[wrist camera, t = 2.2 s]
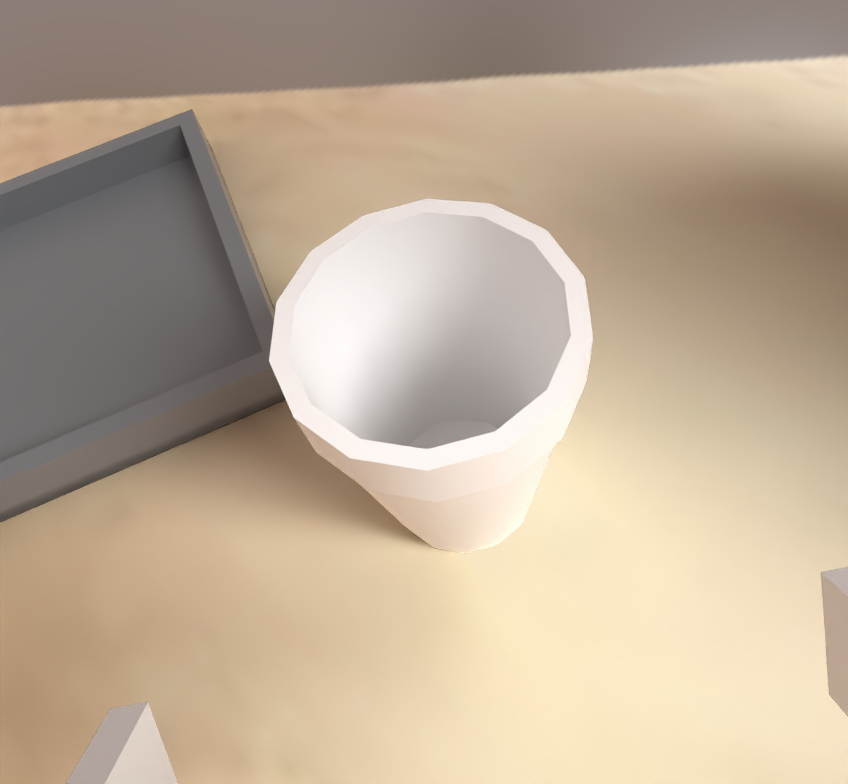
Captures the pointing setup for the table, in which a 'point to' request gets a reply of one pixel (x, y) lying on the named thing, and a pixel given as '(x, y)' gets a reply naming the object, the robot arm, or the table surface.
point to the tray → (123, 312)
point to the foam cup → (437, 362)
